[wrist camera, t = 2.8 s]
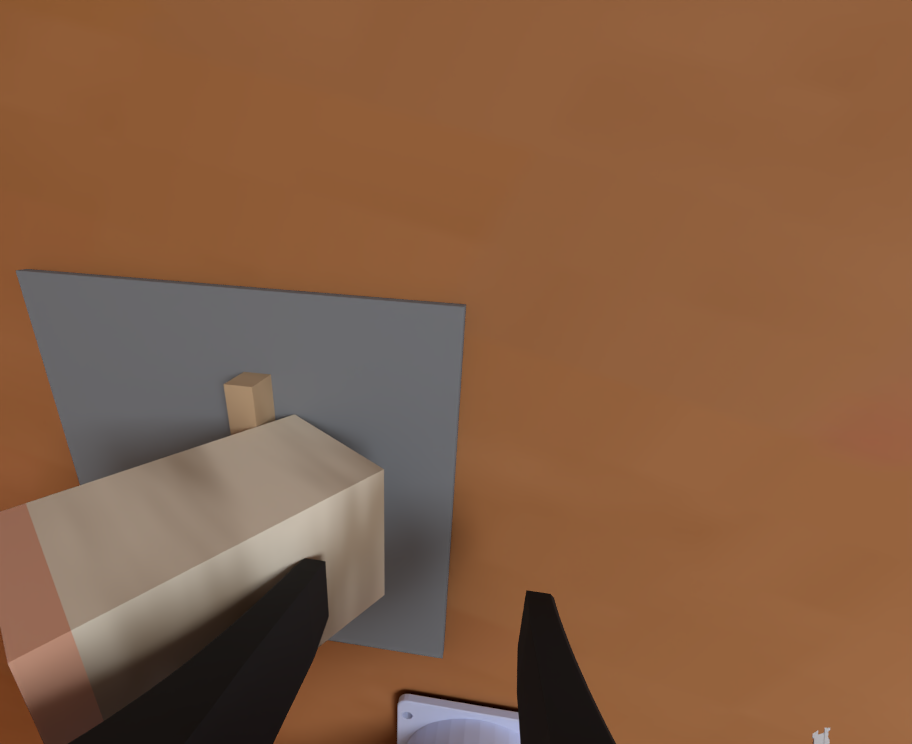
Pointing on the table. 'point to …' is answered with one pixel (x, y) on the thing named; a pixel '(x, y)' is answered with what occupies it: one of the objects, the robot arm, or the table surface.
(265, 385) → the stop strip
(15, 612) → the birch block
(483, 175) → the table surface
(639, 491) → the table surface
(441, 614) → the rubber mat
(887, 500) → the table surface
